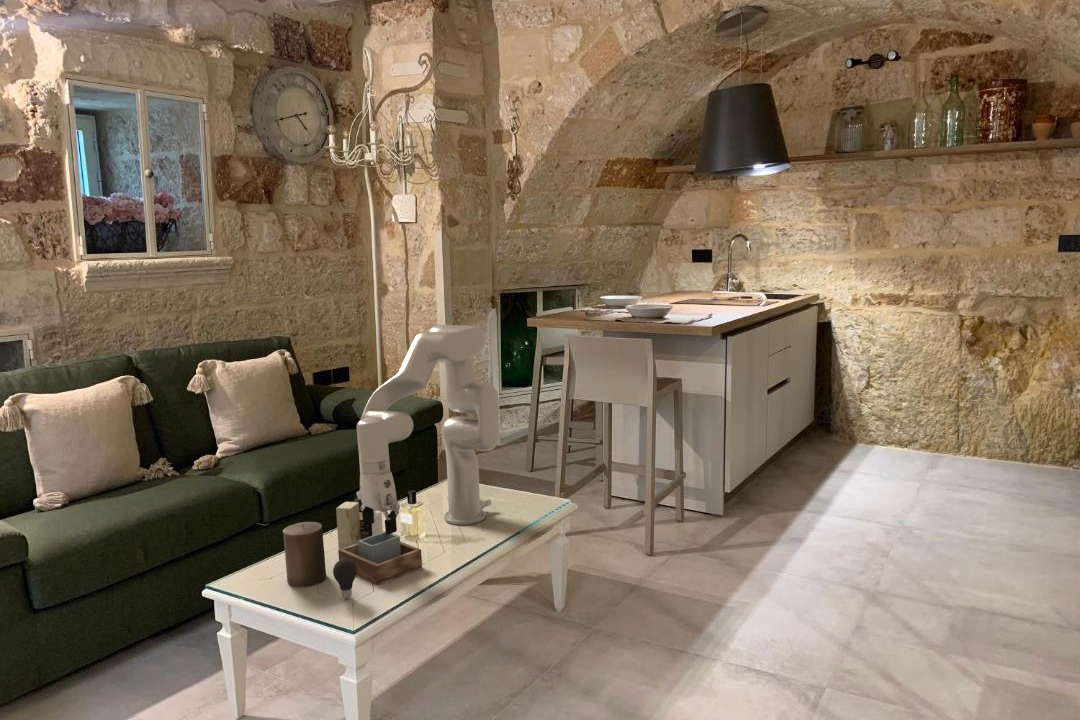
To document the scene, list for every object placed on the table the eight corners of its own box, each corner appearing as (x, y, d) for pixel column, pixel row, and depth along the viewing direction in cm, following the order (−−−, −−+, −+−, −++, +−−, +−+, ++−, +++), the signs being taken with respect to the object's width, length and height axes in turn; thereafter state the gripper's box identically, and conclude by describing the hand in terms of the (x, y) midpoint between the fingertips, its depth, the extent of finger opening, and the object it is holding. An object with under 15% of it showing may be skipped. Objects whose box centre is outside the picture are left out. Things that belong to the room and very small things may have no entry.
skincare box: (352, 551, 230) (349, 509, 228) (338, 550, 231) (335, 508, 229) (362, 542, 236) (359, 501, 234) (347, 542, 237) (345, 500, 235)
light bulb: (335, 605, 197) (332, 565, 195) (334, 595, 202) (331, 556, 200) (359, 601, 198) (357, 562, 197) (357, 592, 204) (355, 553, 202)
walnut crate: (382, 552, 229) (381, 534, 228) (422, 567, 217) (421, 549, 217) (339, 567, 219) (338, 549, 218) (378, 585, 207) (376, 566, 207)
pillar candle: (330, 581, 210) (326, 524, 208) (291, 590, 206) (287, 532, 204) (320, 569, 219) (316, 514, 217) (282, 577, 214) (278, 521, 212)
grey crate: (387, 556, 223) (385, 531, 222) (401, 561, 219) (399, 536, 218) (359, 566, 217) (357, 540, 216) (373, 572, 213) (371, 546, 212)
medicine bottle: (349, 541, 237) (347, 501, 235) (360, 532, 244) (358, 493, 242) (372, 543, 236) (370, 502, 234) (383, 534, 242) (380, 494, 241)
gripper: (407, 468, 211) (412, 531, 214) (367, 456, 222) (372, 517, 226) (383, 476, 205) (388, 541, 209) (343, 463, 217) (348, 525, 220)
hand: (380, 528), depth 217 cm, fingers open, 9 cm apart
